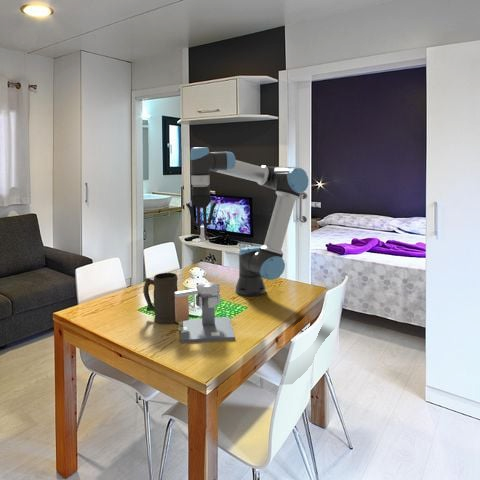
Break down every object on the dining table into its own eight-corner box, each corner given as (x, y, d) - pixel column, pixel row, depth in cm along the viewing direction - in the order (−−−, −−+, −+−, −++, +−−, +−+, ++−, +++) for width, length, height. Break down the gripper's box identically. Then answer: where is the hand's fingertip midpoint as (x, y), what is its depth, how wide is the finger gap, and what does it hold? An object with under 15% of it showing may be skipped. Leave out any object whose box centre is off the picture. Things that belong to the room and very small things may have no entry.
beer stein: (183, 315, 178) (179, 271, 175) (179, 324, 168) (174, 278, 164) (149, 316, 179) (144, 273, 175) (142, 326, 169) (137, 280, 165)
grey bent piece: (214, 310, 171) (213, 281, 169) (223, 317, 163) (223, 287, 161) (172, 317, 163) (171, 287, 161) (180, 325, 155) (179, 293, 153)
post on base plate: (229, 319, 173) (229, 289, 171) (235, 339, 154) (235, 306, 151) (178, 322, 170) (178, 291, 168) (178, 343, 151) (177, 308, 148)
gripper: (185, 186, 166) (187, 244, 171) (217, 186, 168) (218, 242, 173) (184, 185, 173) (186, 240, 178) (215, 184, 175) (216, 238, 180)
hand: (202, 241), depth 176 cm, fingers closed
